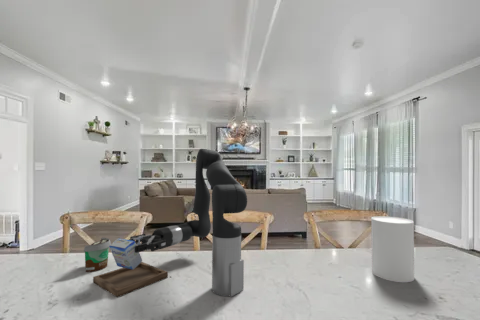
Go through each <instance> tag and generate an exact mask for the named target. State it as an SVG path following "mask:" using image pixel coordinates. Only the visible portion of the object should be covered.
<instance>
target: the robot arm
mask: <svg viewBox="0 0 480 320" xmlns="http://www.w3.org/2000/svg"><path fill="white" fill-rule="evenodd" d="M204 170H205V172H206V173H205V176H206V179H207V182H208V185H209V186H210V187H211V188H212V191H211V193H210V189H209V187H208V185H207V184H206V181H205V178H204ZM194 192H195V193H194V201H193V208H192V212H193V213H194V215H197V218H198V219H193V220H189V221H187V222H184V223H181V224H177V225H169V226H163V227H160V228H156V229H155V230H153V232H152V234H146V233H141V234H137V235H133V236H130V237H129V239H128V240H132V241H135V243H136V245H137V246H135V252H136V253H138V252H139V253H140V252H144V251H148V252H149V251H151V252H155V251H158V250H163V249H166V248H168V247H169V248H170V247H173V246H175V245H177V244H178V245H179V244H181V243H183V242H187V241H188V240H190V239H191V238H192V237H196V238H207V237H208V235H209V234H210V232H211V228H212V244H211V246H212V247H211V248H212V251H211V254H212V255H211V257H212V259H211V262H212V263H211V267H212V268H211V291H212V292H213V293H214V294H215V295H218V296H225V297H234V296H235V295H237V294H239V293H240V292H242V291H243V290H244V283H245V282H244V277H245V276H244V272H245V269H244V268H245V267H244V263H245V261H244V259H243V258H242V227H241V225H240V224H238V223H235V222H232V221H229V220H227V219H225V217H224V214H227V215H228V214H239V213H243V212H244V211H245V210H246V208H247V205H248V196H247V191H246V190H245V188H244V187H243V185H242V184H241V183H240V182H239V181H237V179H235V177H234V176H233V175H232V173H231V171H230V170H229V168H228V166H226V164H225V162H224V161H223V157H222V155H221V153H220V152H219V151H216V150H213V149H206V148H199V150H198V151H197V153H196V159H195V191H194ZM210 202H211V203H210ZM210 205H211V211H212V225H211V218H210V217H211V216H210Z"/></svg>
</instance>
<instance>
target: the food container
mask: <svg viewBox="0 0 480 320" xmlns="http://www.w3.org/2000/svg"><path fill="white" fill-rule="evenodd" d="M111 242H112V241H111V240H110V238H108V237H100V240H98V241H95V242H92V243H91V244H90V245H85V244H84V247H83V252H84V265H85V273H92V272H93V273H94V272H98V271H102V270H104V269H106V268H107V267H108V261H109V252H110V251H109V250H110V247H109V246H110V245H111V244H112V243H111Z"/></svg>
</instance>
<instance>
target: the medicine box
mask: <svg viewBox="0 0 480 320" xmlns="http://www.w3.org/2000/svg"><path fill="white" fill-rule="evenodd" d="M135 241H136V240H135ZM135 241H132V240H129V239H125V238H119V237H118V238H117V239H115V240H114V241H113V242H112V243H111V245H110V246H109V250H110V251H111V254H112V257H113V259H114V262H115V263H116V266H117V267H120V268H128V269H135V268H136V267H137V266H138V265H139V264H140V263H141V262H143V258H142V255H141V253H140V252H138V253H136V252H135V246H137V245H136V243H135Z"/></svg>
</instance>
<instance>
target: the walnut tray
mask: <svg viewBox="0 0 480 320" xmlns="http://www.w3.org/2000/svg"><path fill="white" fill-rule="evenodd" d="M168 273H169V272H168V271H167V270H164V269H161V268H158V267H157V266H153V265H151V264H148V263H146V262H144V261H142V262H141V263H140V264H139V265H138V266H137V267H136V268H135V269H128V268H123V267H120V268H118V269H115V270H112V271H108V272H105V273H101V274H98V275H95V276H93V277H92V278H93V279H92V283H93V284H94V285H95V286H97V287H99V288H101V289H102V290H105V291H106V292H108V293H109V294H111V295H112V296H115V297H116V298H119V297H122V296H125V295H127V294H130V293H133V292H135V291H137V290H140V289H143V288H145V287H148V286H150V285H152V284H155V283H158V282H160V281H162V280H165V279H167V278H168V277H169V274H168Z"/></svg>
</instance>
